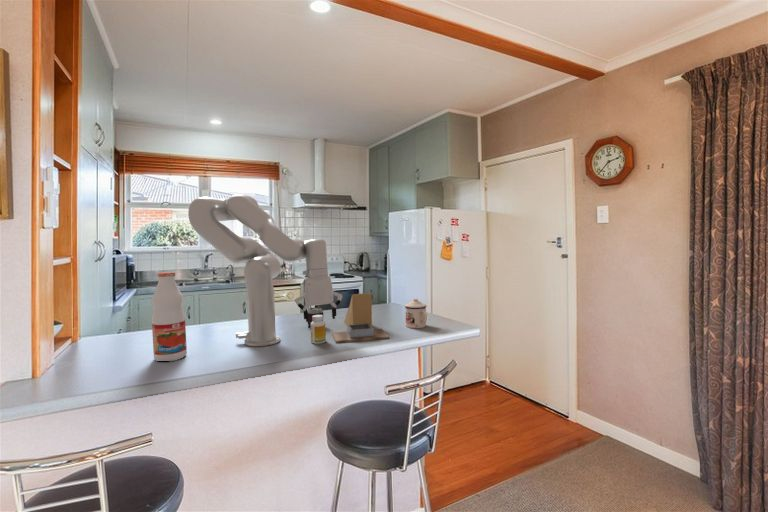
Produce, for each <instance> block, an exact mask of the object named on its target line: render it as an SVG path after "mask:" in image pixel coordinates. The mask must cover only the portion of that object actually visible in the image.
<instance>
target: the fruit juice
mask: <svg viewBox="0 0 768 512" xmlns="http://www.w3.org/2000/svg"><path fill="white" fill-rule="evenodd" d="M157 278H158V282H157V285H156V288H155V291H154V293H153V294H152V296H151V299H150V300H151V301H150V302H151V303H150V304H151V306H152V309H153V312H152V315H151V327H152V328H151V329H152V332H151V333H152V349H153V359H154V361H155V360H156V361H155V362H157V361H170V362H172V361H171V360H175V361H178V360H177V359H179V360H181V359H180V358H182V359H184V358H185V357H186V356H187V353H188V352H187V351H188V349H187V348H188V347H187V331H186V330H187V329H186V313H185V311H184V308H183V305H184V301H185V298H184V295H183V293H182V292H181V291H180V289H179V286H178V285H177V282H176V280H175V278H176V273H175V271H165V272H164V271H163V272H158V273H157ZM184 356H185V357H184ZM183 357H184V358H183Z"/></svg>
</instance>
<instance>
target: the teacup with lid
mask: <svg viewBox="0 0 768 512" xmlns="http://www.w3.org/2000/svg"><path fill="white" fill-rule="evenodd" d="M404 307H405V311H404V313H405V315H404V316H405V326H406V327H407V328H409V329H422V328H425V327H426V326H427V320H428V314H427V304H426V303H424V302H421V301H419V300H418V298H413V299H412V301H411V300H410V302H408V303H406V304H405V305H404Z"/></svg>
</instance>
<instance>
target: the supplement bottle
mask: <svg viewBox="0 0 768 512" xmlns="http://www.w3.org/2000/svg"><path fill="white" fill-rule="evenodd" d="M323 315H324V314H323ZM323 315H314V316H312V320H313V321H312V322H311V328H310V342H311V343H312V344H315V345H317V344H319V345H321V344H323V343H325V342H326V341H327V338H326V337H327V336H326V333H327V332H326V331H327V330H326V321H324V316H323Z"/></svg>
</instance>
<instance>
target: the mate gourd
mask: <svg viewBox="0 0 768 512" xmlns="http://www.w3.org/2000/svg"><path fill="white" fill-rule="evenodd" d="M307 311H308V322H307V327H308V329H309V328H310V329H311V322H312V321H313V320H312V316H314V315H323V317H324V310H323V309H322V308H321V307H312V306H309V307H308V308H307Z"/></svg>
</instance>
